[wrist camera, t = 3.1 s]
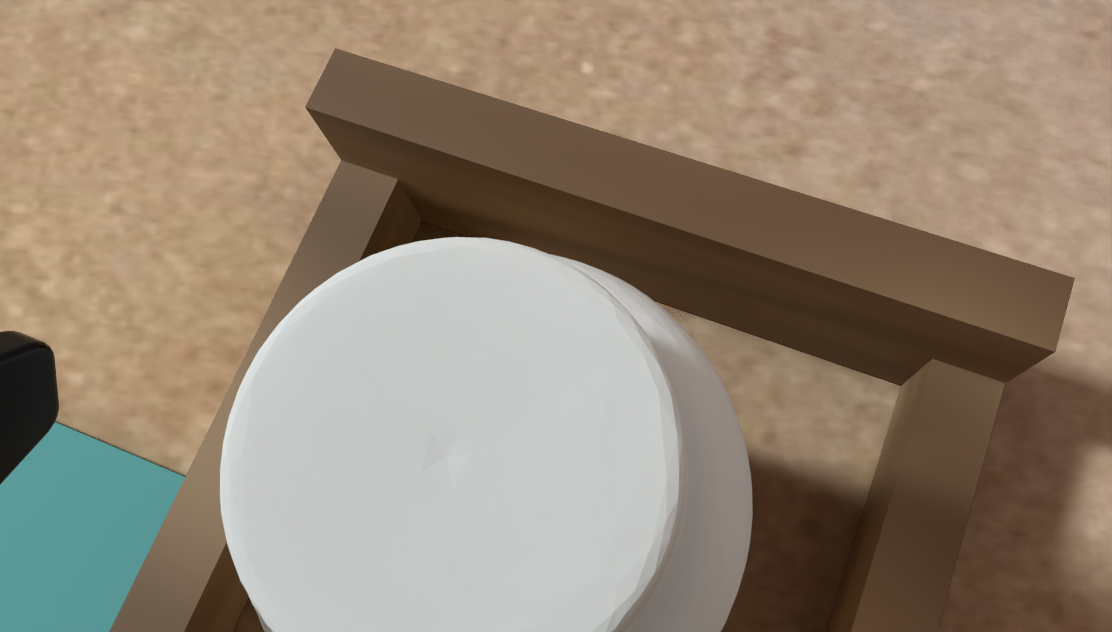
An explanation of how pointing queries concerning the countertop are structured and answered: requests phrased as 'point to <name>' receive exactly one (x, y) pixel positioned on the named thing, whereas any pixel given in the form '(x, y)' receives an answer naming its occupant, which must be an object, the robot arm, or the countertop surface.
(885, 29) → the countertop surface
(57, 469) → the teal mat
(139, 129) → the countertop surface
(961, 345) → the walnut lane
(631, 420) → the supplement bottle
